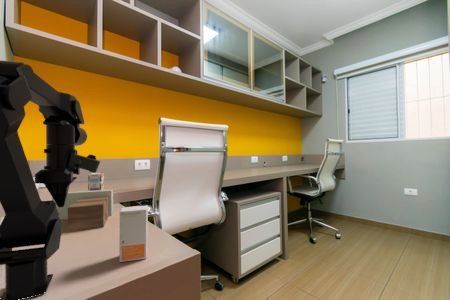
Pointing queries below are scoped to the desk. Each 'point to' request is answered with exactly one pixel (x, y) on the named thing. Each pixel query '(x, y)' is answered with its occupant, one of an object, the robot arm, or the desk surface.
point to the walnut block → (88, 213)
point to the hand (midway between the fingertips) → (61, 206)
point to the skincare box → (133, 233)
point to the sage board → (74, 196)
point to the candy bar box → (96, 181)
